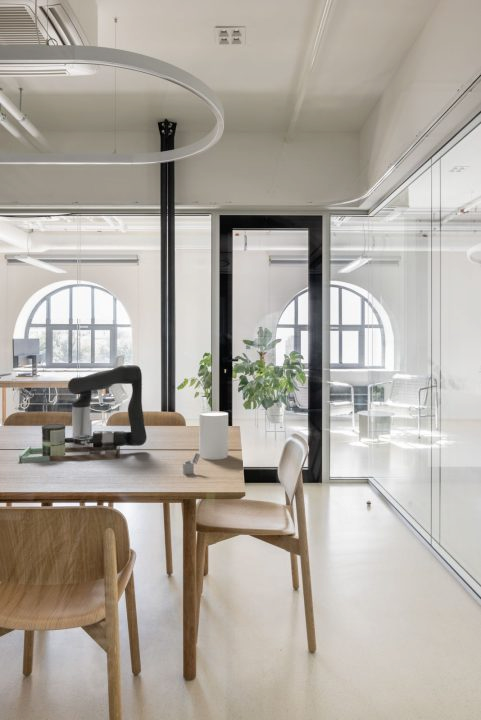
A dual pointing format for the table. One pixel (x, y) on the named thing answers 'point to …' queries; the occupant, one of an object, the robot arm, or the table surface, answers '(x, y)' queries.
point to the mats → (105, 452)
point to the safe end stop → (32, 458)
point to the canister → (213, 435)
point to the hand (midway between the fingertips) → (65, 440)
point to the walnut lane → (85, 457)
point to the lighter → (190, 465)
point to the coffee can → (53, 440)
